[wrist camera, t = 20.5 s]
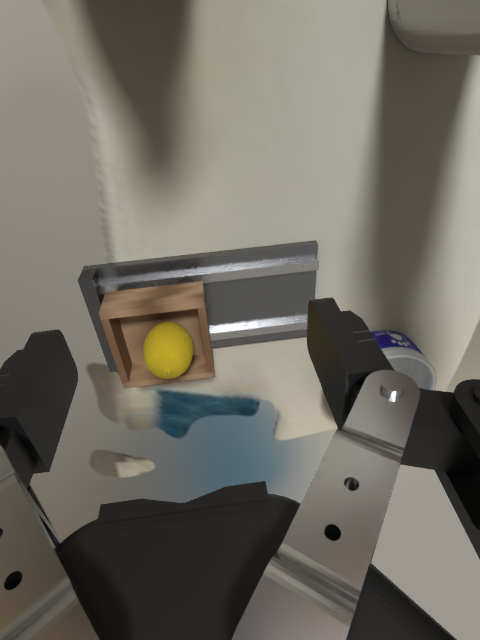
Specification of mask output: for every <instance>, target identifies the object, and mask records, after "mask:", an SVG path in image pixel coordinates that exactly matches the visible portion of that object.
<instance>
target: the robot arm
mask: <svg viewBox="0 0 480 640" xmlns="http://www.w3.org/2000/svg"><path fill="white" fill-rule="evenodd" d="M388 12H389V19H390V23H391V26H392V29H393V32H394V33H395V35H396V36H397V38H398V40H399V41H400V42H401V43H402V44H403V45H404V46H406V47H407V48H409V49H411V50H413V51H417V52H423V53H442V54H462V55H480V0H388ZM307 346H308V351H309V355H310V358H311V360H312V363H313V365H314V368H315V370H316V373H317V375H318V378H319V381H320V383H321V386H322V388H323V391H324V393H325V396H326V398H327V401H328V404H329V406H330V409H331V411H332V414H333V416H334V419H335V421H336V424H337V427H338V429H337V430H336V432H335V434H334V435H333V437H332V440H331V442H330V444H329V446H328V448H327V450H326V452H325V454H324V456H323V458H322V460H321V463H320V465H319V467H318V469H317V471H316V473H315V475H314V477H313V479H312V481H311V483H310V486H309V488H308V490H307V492H306V494H305V496H304V498H303V500H302V502H301V504H300V503H298V502H296V501H295V500H292V499H289V498H287V497H283V496H279V495H275V494H268V493H267V488H266V482H265V481H263V482H256V483H249V484H242V485H235V486H228V487H224V488H221V489H219V490H216V491H214V492H212V493H209V494H206V495H204V496H201V497H199V498H196V499H194V500H191V501H189V502H186V503H175V502H166V501H157V500H148V499H136V500H129V501H123V502H115V503H109V504H101V506H100V511H99V517H98V519H97V520H94V521H92V522H90V523H88V524H86V525H84V526H83V527H81V528H80V529H78V530H77V531H75V532H74V533H73V534H71V535H70V536H68V537H67V538H66V539H65V540H63V541H62V539H61V538H60V536H59V535H58V533H57V531H56V529H55V528H54V526H53V524H52V522H51V520H50V518H49V517H48V515H47V513H46V511H45V509H44V508H43V506H42V504H41V502H40V501H39V499H38V497H37V495H36V493H35V492H34V490H33V488H32V487H31V485H30V481H31V478H32V475H33V474H34V473H42V472H49V471H50V468H51V465H52V461H53V458H54V455H55V452H56V449H57V446H58V443H59V440H60V436H61V433H62V430H63V427H64V424H65V421H66V418H67V414H68V411H69V408H70V405H71V402H72V399H73V395H74V392H75V389H76V386H77V382H78V372H77V367H76V364H75V362H74V359H73V357H72V355H71V352H70V350H69V348H68V346H67V343H66V341H65V338H64V336H63V334H62V332H61V331H60V330H50V331H42V332H34V333H32V334H31V336H30V337H29V339H28V341H27V343H26V345H25V347H24V349H23V350H17V351H16V352H15V353H14V354H13V355H12V356H11V357H10V358H8V359H7V360H6V361H5V362H4V364H3V366H2V367H1V369H0V640H456V639H455V638H454V637H453V636H452V635H451V634H450V633H449V632H448V631H446V630H445V629H444V628H443V627H442V626H441V625H440V624H439V623H437V622H436V621H435V620H434V619H433V618H432V617H431V616H430V615H428V614H427V613H426V612H425V611H424V610H423V609H422V608H421V607H419V606H418V605H417V604H416V603H415V602H414V601H413V600H411V599H410V598H409V597H408V596H407V595H406V594H405V593H404V592H403V591H402V590H400V589H399V588H398V587H397V586H396V585H395V584H394V583H393V582H391V581H390V580H389V579H388V578H387V577H386V576H385V575H384V574H382V573H381V572H380V571H379V570H378V569H377V568H376V567H375V566H374V565H373V564H371V561H372V558H373V554H374V551H375V547H376V544H377V541H378V538H379V534H380V531H381V527H382V524H383V521H384V517H385V514H386V511H387V507H388V504H389V501H390V497H391V494H392V490H393V487H394V484H395V481H396V477H397V474H398V471H399V467H400V464H402V465H408V466H414V467H420V468H427V469H433V470H435V472H436V474H437V476H438V478H439V480H440V482H441V484H442V486H443V487H444V490H445V492H446V493H447V496H448V498H449V499H450V501H451V503H452V505H453V507H454V509H455V511H456V513H457V515H458V517H459V519H460V521H461V523H462V525H463V527H464V529H465V531H466V533H467V535H468V537H469V539H470V541H471V543H472V544H473V547H474V549H475V551H476V553H477V555H478V557H479V558H480V380H476V379H475V380H474V379H472V380H465V381H463V382H461V383H459V384H458V385H457V386H456V388H455V391H454V393H451V392H443V391H434V390H427V389H422V388H419V387H418V385H417V383H416V382H415V381H414V380H413V379H411V378H410V377H409V376H407V375H405V374H403V373H400V372H397V371H395V370H394V369H393V367H392V365H391V364H390V362H389V361H388V359H387V358H386V356H385V354H384V353H383V351H382V350H381V348H380V346H379V345H378V343H377V342H376V340H374V337H373V335H372V334H371V332H369V329H368V327H367V326H366V324H365V323H364V321H363V320H362V319H361V318H360V317H359V316H357V315H356V314H354V313H353V312H351V311H342V312H341V311H340V309H339V307H338V305H337V304H336V302H335V300H334V299H333V298H323V299H315V300H310V301H309V303H308V320H307Z"/></svg>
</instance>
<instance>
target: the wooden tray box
mask: <svg viewBox="0 0 480 640" xmlns="http://www.w3.org/2000/svg"><path fill="white" fill-rule="evenodd" d="M99 316H100V319H101V322H102V325H103V328H104V331H105V334H106V337H107V340H108V343H109V346H110V349H111V352H112V355H113V358H114V361H115V364H116V366H117V369H118V372H119V375H120V378H121V381H122V384H123V387H124V388H132V387H139V386H147V385H155V384H163V383H171V382H178V381H186V380H194V379H202V378H209V377H215V372H214V361H213V351H212V344H211V337H210V330H209V323H208V316H207V309H206V301H205V294H204V287H203V281H199V282H194V280H193V279H191V278H185V279H181V280H179V281H178V282H177V284H173V285H164V286H155V287H147V288H138V289H134V286H132V285H124V286H121V287H119V288H118V289H117V291H112V292H105V295H104V298H103V302H102V305H101V308H100V311H99ZM163 322H174V323H178V324H180V325H182V326H183V327H184V328H185V329H187V331H188V332H189V334H190V335H191V338H192V341H193V357H192V360H191V363H190V366H189V367H188V369H187V370H186V371H185V372H184V373H183V374H182V375H180V376H178V377H176V378H172V379H163V378H160V377H157V376H156V375H154V374H153V373H152V372H150V371H149V369H148V367H147V366H146V363H145V360H144V355H143V347H144V341H145V339H146V336H147V334H148V333H149V332H150V330H151V329H152V328H153V327H155V326H156V325H158V324H160V323H163Z"/></svg>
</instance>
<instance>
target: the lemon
mask: <svg viewBox="0 0 480 640" xmlns="http://www.w3.org/2000/svg"><path fill="white" fill-rule="evenodd" d="M143 355H144V360H145V363H146V366H147V367H148V369H149V371H150V372H152V373H153V374H154V375H156V376H157V377H160V378H163V379H172V378H176V377H178V376H180V375H182V374H183V373H184V372H185V371H186V370H187V369H188V367H189V366H190V363H191V360H192V357H193V341H192V338H191V335H190V334H189V332H188V331H187V329H185V328H184V327H183V326H182V325H180V324H178V323H174V322H163V323H160V324H158V325H156V326H155V327H153V328H152V329H151V330H150V332H149V333H148V334H147V336H146V339H145V341H144V347H143Z"/></svg>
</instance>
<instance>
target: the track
mask: <svg viewBox="0 0 480 640" xmlns="http://www.w3.org/2000/svg"><path fill="white" fill-rule="evenodd" d="M317 251H318V243H317V242H316V241H308V242H299V243H289V244H280V245H271V246H262V247H253V248H244V249H235V250H226V251H217V252H208V253H199V254H190V255H181V256H172V257H163V258H154V259H145V260H136V261H127V262H118V263H109V264H100V265H91V266H84V268H83V270H82V272H81V274H80V277H79V279H78V283H79V285H80V288H81V291H82V294H83V296H84V299H85V302H86V305H87V308H88V311H89V314H90V316H91V319H92V322H93V325H94V328H95V330H96V333H97V336H98V338H99V342H100V345H101V347H102V350H103V353H104V356H105V359H106V361H107V364H108V367H109V370H110V372H115V371H118V369H117V366H116V364H115V361H114V358H113V355H112V352H111V349H110V346H109V343H108V340H107V337H106V334H105V331H104V328H103V325H102V322H101V319H100V316H99V311H100V308H101V305H102V302H103V298H104V295H105V292H112V291H117V289H118V288H119V287H121V286H124V285H132V286H134V289H138V288H147V287H155V286H164V285H173V284H177V282H178V281H179V280H181V279H185V278H191V279H193V280H194V282H199V281H203V287H204V294H205V301H206V309H207V316H208V323H209V330H210V337H211V344H212V348H215V347H223V346H231V345H239V344H247V343H255V342H263V341H271V340H279V339H287V338H295V337H303V336H307V320H308V303H309V301H310V300H315V287H316V270H318V268H319V261H318V259H317Z"/></svg>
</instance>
